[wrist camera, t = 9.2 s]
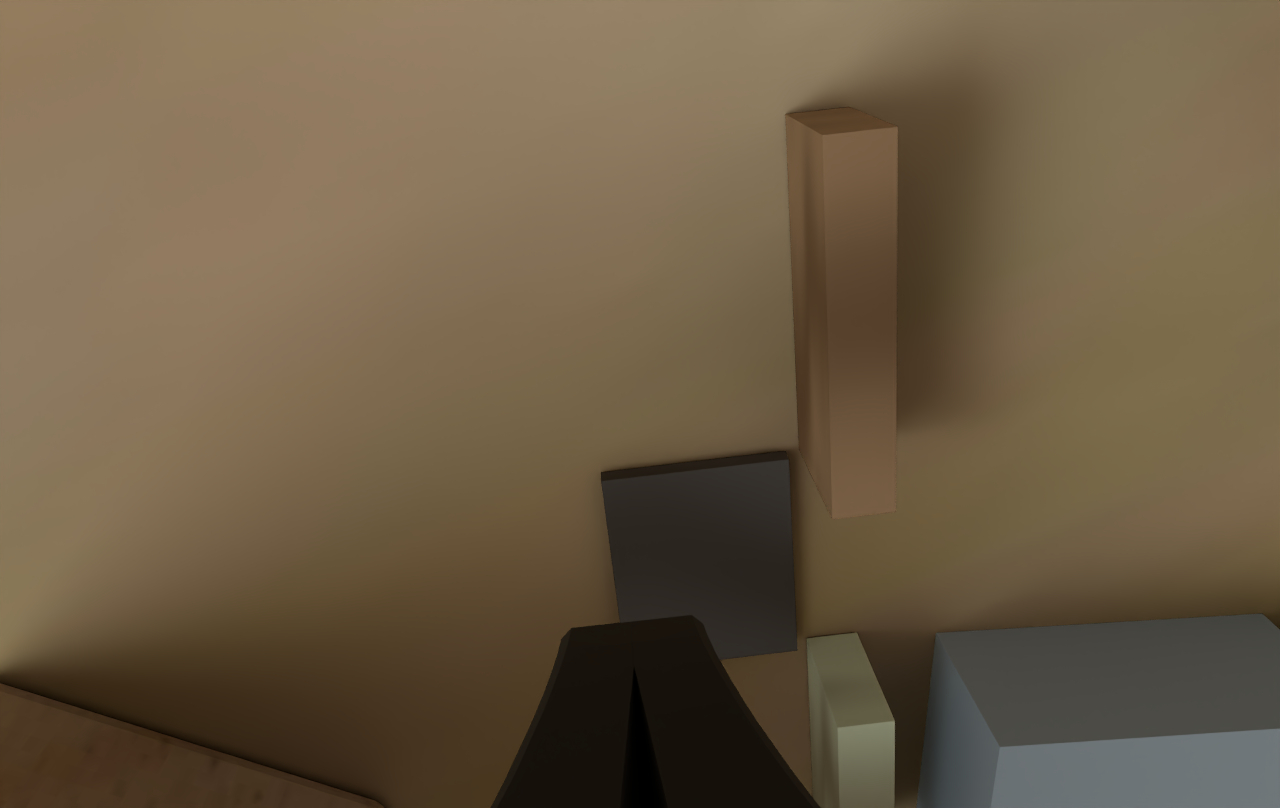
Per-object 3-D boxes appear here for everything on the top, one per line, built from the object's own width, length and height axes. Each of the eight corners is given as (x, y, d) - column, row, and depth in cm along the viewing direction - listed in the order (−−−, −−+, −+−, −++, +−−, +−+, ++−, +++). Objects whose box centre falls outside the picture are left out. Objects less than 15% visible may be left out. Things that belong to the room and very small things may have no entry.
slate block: (1197, 820, 26) (1298, 956, 22) (909, 840, 26) (963, 981, 22) (1255, 606, 23) (1381, 721, 20) (932, 626, 23) (999, 746, 19)
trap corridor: (1480, 745, 25) (1591, 837, 22) (650, 844, 25) (658, 951, 22) (1717, 8, 18) (1923, 9, 15) (556, 140, 18) (550, 166, 15)
